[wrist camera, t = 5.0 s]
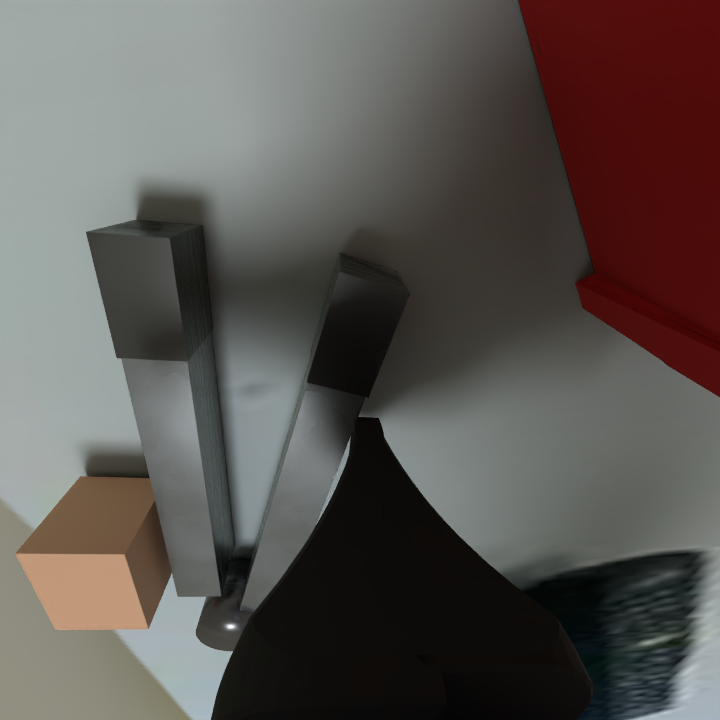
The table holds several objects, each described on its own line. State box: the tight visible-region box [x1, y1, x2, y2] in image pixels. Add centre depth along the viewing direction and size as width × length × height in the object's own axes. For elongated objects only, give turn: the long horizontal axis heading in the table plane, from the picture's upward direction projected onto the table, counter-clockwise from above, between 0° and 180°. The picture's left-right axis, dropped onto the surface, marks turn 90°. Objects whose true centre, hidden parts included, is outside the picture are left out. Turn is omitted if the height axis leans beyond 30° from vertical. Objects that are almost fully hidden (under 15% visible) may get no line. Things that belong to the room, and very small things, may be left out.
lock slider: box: [16, 476, 172, 630], centre depth 13 cm, size 4×3×3 cm
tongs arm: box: [196, 253, 410, 651], centre depth 13 cm, size 16×3×2 cm, turn 162°
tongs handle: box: [86, 220, 234, 597], centre depth 12 cm, size 13×2×2 cm, turn 175°
